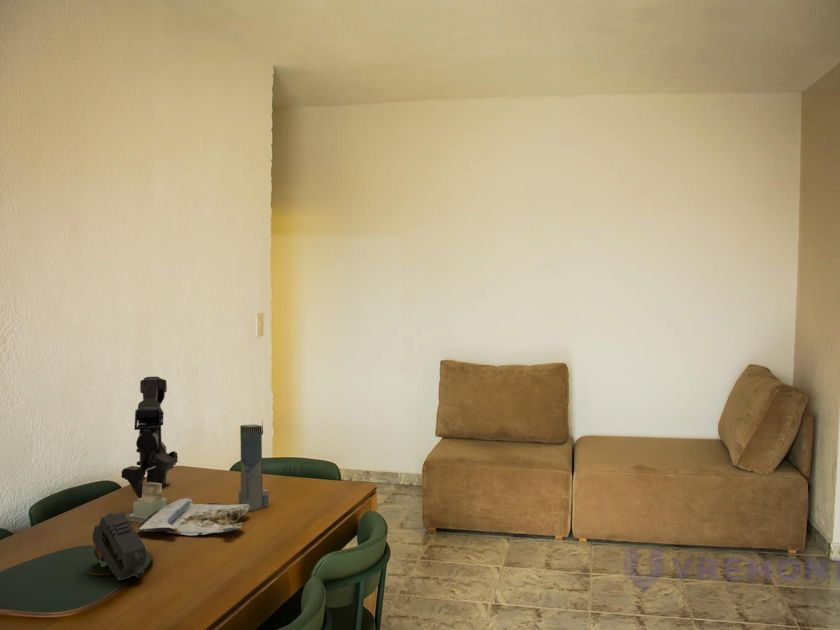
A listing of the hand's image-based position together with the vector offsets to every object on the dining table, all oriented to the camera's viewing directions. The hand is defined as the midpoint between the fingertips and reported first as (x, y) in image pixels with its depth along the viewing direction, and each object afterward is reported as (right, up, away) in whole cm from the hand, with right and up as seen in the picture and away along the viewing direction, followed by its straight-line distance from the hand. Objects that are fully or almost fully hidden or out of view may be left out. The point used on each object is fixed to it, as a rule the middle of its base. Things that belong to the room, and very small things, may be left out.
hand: (150, 493), depth 220 cm
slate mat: (0, -7, 0) cm, 7 cm away
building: (+31, -7, +7) cm, 32 cm away
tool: (+9, -9, -44) cm, 46 cm away
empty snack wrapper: (+19, -8, -11) cm, 23 cm away
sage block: (0, -6, 0) cm, 6 cm away
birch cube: (0, -2, 0) cm, 2 cm away
